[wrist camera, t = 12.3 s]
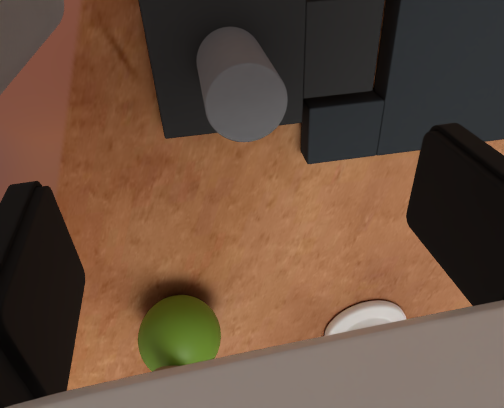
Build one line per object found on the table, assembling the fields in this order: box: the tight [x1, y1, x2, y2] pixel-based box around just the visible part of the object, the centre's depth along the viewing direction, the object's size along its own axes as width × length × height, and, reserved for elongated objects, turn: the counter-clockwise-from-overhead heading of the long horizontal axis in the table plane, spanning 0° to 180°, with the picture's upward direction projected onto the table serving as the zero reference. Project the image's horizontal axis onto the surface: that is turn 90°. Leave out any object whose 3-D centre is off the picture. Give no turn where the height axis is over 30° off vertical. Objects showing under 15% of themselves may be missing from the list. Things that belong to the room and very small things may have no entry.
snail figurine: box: [138, 295, 221, 372], centre depth 25 cm, size 5×6×12 cm
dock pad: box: [301, 0, 504, 164], centre depth 20 cm, size 12×12×2 cm
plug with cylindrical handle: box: [139, 0, 385, 142], centre depth 18 cm, size 11×7×6 cm, turn 93°
